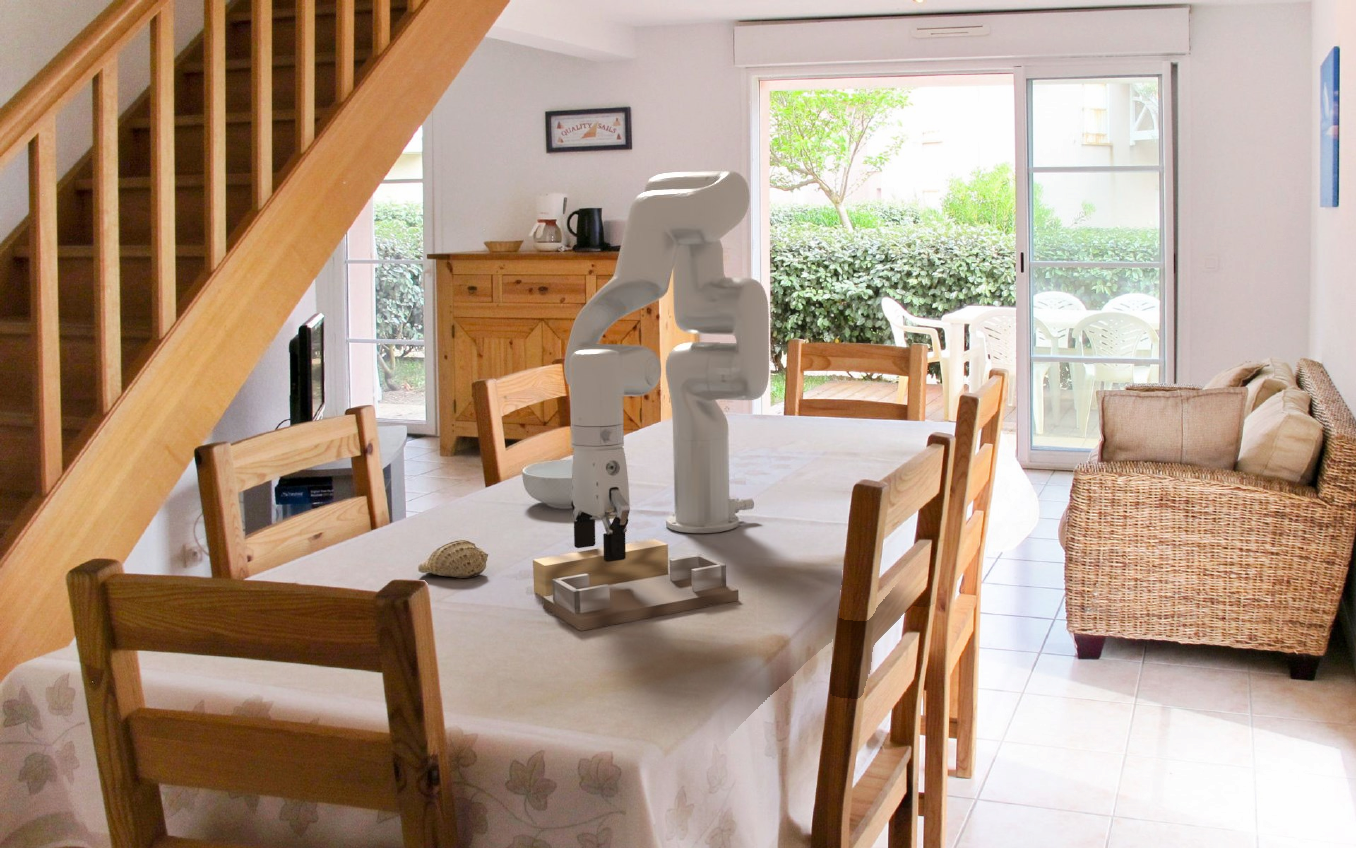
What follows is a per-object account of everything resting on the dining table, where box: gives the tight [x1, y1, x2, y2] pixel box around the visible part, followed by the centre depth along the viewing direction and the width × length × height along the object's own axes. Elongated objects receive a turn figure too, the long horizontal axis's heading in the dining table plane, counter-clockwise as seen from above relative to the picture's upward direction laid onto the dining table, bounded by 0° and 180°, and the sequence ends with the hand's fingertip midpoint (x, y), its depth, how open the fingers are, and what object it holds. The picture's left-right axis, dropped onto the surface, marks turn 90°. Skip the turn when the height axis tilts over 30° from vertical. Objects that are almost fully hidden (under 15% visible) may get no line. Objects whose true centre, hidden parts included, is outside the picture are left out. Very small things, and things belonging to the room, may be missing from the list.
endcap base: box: [542, 553, 739, 632], centre depth 171 cm, size 24×12×4 cm, turn 119°
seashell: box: [417, 539, 489, 579], centre depth 187 cm, size 8×6×10 cm
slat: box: [532, 538, 670, 598], centre depth 181 cm, size 20×4×5 cm, turn 121°
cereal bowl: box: [521, 458, 573, 510], centre depth 234 cm, size 17×17×7 cm
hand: (599, 553), depth 180 cm, fingers open, 9 cm apart
